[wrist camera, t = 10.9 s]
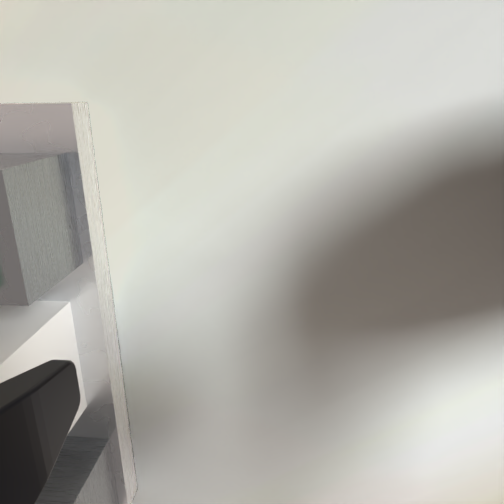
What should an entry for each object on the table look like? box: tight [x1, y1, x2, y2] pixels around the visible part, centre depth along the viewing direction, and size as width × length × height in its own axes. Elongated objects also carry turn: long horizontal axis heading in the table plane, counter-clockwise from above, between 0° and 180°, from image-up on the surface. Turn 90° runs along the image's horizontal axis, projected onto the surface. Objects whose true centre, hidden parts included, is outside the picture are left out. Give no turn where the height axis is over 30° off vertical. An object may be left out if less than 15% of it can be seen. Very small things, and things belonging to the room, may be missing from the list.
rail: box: [0, 102, 137, 504], centre depth 21 cm, size 7×22×6 cm, turn 1°
